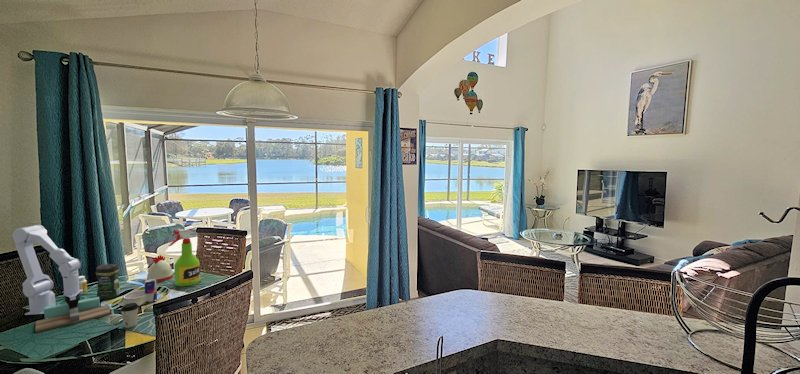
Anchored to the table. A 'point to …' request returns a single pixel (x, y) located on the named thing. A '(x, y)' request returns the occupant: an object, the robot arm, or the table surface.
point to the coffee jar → (107, 281)
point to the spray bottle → (186, 261)
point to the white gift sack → (160, 270)
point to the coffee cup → (130, 314)
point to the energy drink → (150, 290)
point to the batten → (64, 308)
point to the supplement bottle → (82, 284)
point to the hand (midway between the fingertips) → (73, 309)
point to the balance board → (67, 318)
